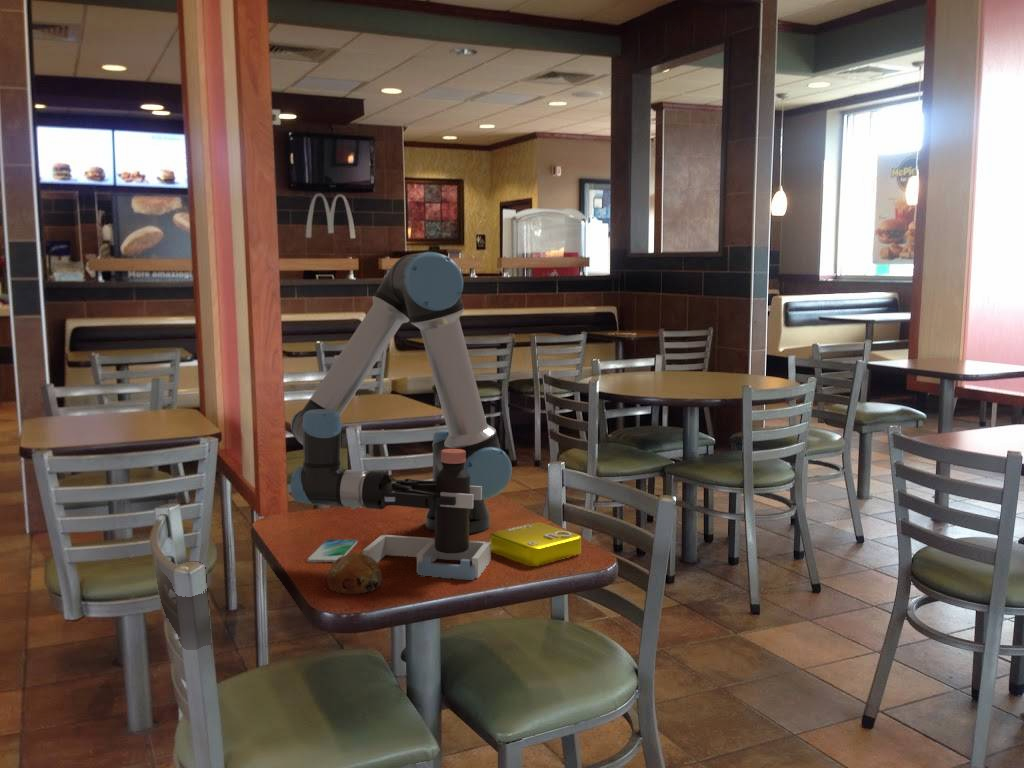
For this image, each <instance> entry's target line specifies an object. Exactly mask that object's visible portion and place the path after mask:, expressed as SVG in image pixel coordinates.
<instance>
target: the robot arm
mask: <svg viewBox="0 0 1024 768" xmlns="http://www.w3.org/2000/svg"><path fill="white" fill-rule="evenodd" d="M463 290H464V278H463V273H462V271H461V269H460V267H459V266H458V265H457V263H456V262H455V260H453V259H452V258H451V257H450V256H447V255H445V254H442V253H439V252H436V251H426V252H419V253H418V252H417V253H410V254H406V255H404V256H402V257H400V258H398V260H397V261H395V262H394V264H393V265H392V267H391V268H390V269H389V271H388V272H387V274H386V276H385V277H384V278H383V280H382V282H381V283H380V285H379V287H378V288H377V290H376V291H375V293H374V294H373V296H372V306H371V307H370V308H369V310H368V312H367V313H366V314H365V316H364V318H363V319H362V320H361V322H360V323H359V325H358V326H357V328H356V330H355V331H354V332H353V334H352V335H351V337H350V339H349V340H348V341H347V343H346V345H345V346H344V347H343V349H342V350H341V352H340V353H339V355H338V357H337V358H336V360H335V361H334V362H333V364H332V365H331V367H330V369H329V370H328V371H327V373H326V374H325V376H324V378H323V379H322V380H321V382H320V383H319V385H318V386H317V388H316V389H315V391H314V392H313V394H312V395H311V397H310V398H309V400H308V401H307V403H306V404H305V406H304V407H303V409H301V410H299V411H297V412H296V413H295V414H294V415H293V417H292V418H291V421H290V430H291V433H292V436H293V437H294V439H295V440H296V441H297V442H298V443H299V444H301V445H302V447H303V449H302V451H303V453H302V454H303V462H302V463H303V465H302V466H299V467H297V468H295V470H293V472H292V475H291V481H290V489H289V490H290V493H291V496H292V498H293V499H294V501H296V502H297V503H301V504H302V503H303V504H308V505H309V504H310V505H312V506H332V507H334V506H335V507H347V508H348V507H350V508H351V510H356V509H357V508H362V509H363V508H366V509H373V510H383V509H385V508H386V507H387V506H394V507H395V506H397V507H398V506H399V507H409V508H417V509H418V508H419V509H427V512H426V515H425V528H426V529H428V530H429V531H432V532H434V533H435V511H437V510H439V505H440V506H442V507H455V508H469V534H474V533H479V532H480V533H481V532H483V531H485V530H488V528H490V526H491V515H490V511H489V509H488V507H487V503H486V502H487V501H486V500H488V499H491V498H495V497H496V496H498V495H500V494H501V493H502V492H503V491H504V490H505V489H506V488H507V486H508V484H509V482H510V480H511V478H512V472H513V466H512V461H511V460H510V458H509V456H508V455H507V453H506V452H505V451H504V450H503V449H501V444H500V442H499V437H498V432H497V430H496V428H495V427H493V426H491V425H489V424H488V423H487V419H486V416H485V412H484V408H483V404H482V400H481V397H480V393H479V389H478V384H477V381H476V377H475V373H474V369H473V367H472V366H473V365H472V362H471V358H470V355H469V351H468V347H467V344H466V340H465V336H464V332H463V331H464V330H463V329H462V324H461V321H460V317H461V316H462V314H463V312H464V310H465V307H464V303H463V300H462V293H463ZM409 322H410V324H411V325H413V326H414V327H416V328H417V329H419V330H420V334H421V338H422V342H423V346H424V348H425V353H426V356H427V359H428V360H427V361H428V363H429V367H430V370H431V375H432V377H433V382H434V386H435V388H436V389H435V390H436V392H437V396H438V400H439V403H440V404H439V405H440V407H441V411H442V414H443V415H442V416H443V419H444V422H445V425H446V429H442V430H441V429H439V430H437V431H435V432H434V434H433V437H432V438H433V439H432V445H431V447H432V480H423V479H421V480H419V479H412V478H411V479H410V478H405V479H403V480H402V479H399V480H395V482H391V479H390V475H388V473H387V472H385V471H372V470H370V471H367V470H362V469H361V470H358V469H342V468H341V463H342V462H341V460H342V459H341V457H342V456H341V455H342V454H341V453H342V452H341V446H342V445H341V443H342V440H341V439H342V437H341V436H342V428H343V427H342V424H341V422H342V421H341V415H342V414H343V412H344V411H345V410H346V408H347V407H348V405H349V403H350V402H351V400H352V399H353V398H354V396H355V395H356V393H357V391H358V390H359V389H360V387H361V386H362V385H363V383H364V381H365V380H366V378H367V377H368V375H369V374H370V373H371V371H372V369H373V368H374V366H375V364H376V363H377V361H378V360H379V358H380V357H381V355H382V354H383V353H384V351H386V348H387V347H388V345H389V344H390V342H391V341H392V339H393V338H394V336H395V335H396V333H397V332H398V330H399V329H400V328H401V326H402V325H403V324H406V323H409ZM444 449H462V450H465V451H466V462H465V465H464V469H465V471H466V472H467V473H468V474H469V475H470V494H463V493H447V492H441V493H440V496H439V494H438V493H436V475H437V474H438V473H439V472H440V471H441V470H442V464H441V463H442V462H441V451H442V450H444Z"/></svg>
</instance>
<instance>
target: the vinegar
mask: <svg viewBox="0 0 1024 768" xmlns="http://www.w3.org/2000/svg"><path fill="white" fill-rule="evenodd" d="M441 462H442V463H441V464H442V470H441V471H440V472H439V473H438V474H437V475H436V493H438V494H439V496H440V493H441V492H447V493H463V494H470V475H469V474H468V473H467V472H466V471H465V469H464V465H465V462H466V451H465V450H462V449H444V450H442V451H441ZM434 538H435V549H436V550H437V551H439V552H442V553H461V552H465V551H466V550H468V547H469V541H470V539H469V538H470V533H469V508H455V507H442V506H440V505H439V510H437V511H435V532H434Z"/></svg>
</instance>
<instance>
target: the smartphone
mask: <svg viewBox="0 0 1024 768" xmlns="http://www.w3.org/2000/svg"><path fill="white" fill-rule="evenodd" d="M357 544H358V540H357V539H333V538H332V539H330V538H329V539H326V540H325V541H323V542H322V544H320V545H319V546H318V547H317V549H315V550H314V551H313V552H312V553H311V554H310V555H309V556H308V557H307V559H306V561H307V562H306V561H305V562H306V563H317V562H321V563H324V562H332V563H331V564H334V562H335V561H336V560H338V558H339V557H343V556H345V555H349V553H350V552H351V551H352V550H353V549H354V547H355V546H356V545H357Z"/></svg>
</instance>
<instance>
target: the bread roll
mask: <svg viewBox="0 0 1024 768" xmlns="http://www.w3.org/2000/svg"><path fill="white" fill-rule="evenodd" d="M381 572H382V571H381V568H380V567H379V564H378V562H377V563H376V561H375V560H374V559H372V558H371V557H370V556H366V555H364V554H363V553H360V552H357V553H356V552H355V553H354V552H353V553H350V554H349V553H348V554H347V555H345V556H343V557H339V558H338V560H336V561H335V562H334V563H332V565H331V566H330V568H329V570H328V572H327V575H326V577H327V581H326V582H327V585H328V588H329V590H332V591H334V592H335V591H336V592H335V593H338V594H341V593H343V595H361V594H360V593H362V594H366V593H365V592H368V593H370V592H369V591H371V592H374V591H375V590H376V589H377V588H378V587H379V586H380V584H381V581H382V573H381ZM373 590H374V591H373Z"/></svg>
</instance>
